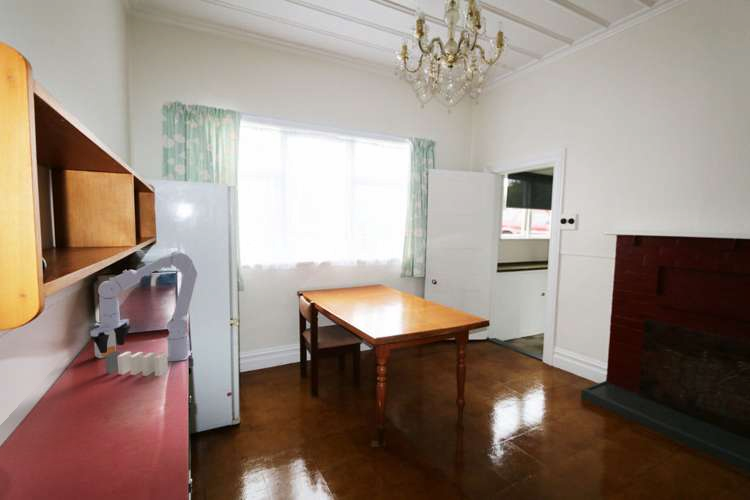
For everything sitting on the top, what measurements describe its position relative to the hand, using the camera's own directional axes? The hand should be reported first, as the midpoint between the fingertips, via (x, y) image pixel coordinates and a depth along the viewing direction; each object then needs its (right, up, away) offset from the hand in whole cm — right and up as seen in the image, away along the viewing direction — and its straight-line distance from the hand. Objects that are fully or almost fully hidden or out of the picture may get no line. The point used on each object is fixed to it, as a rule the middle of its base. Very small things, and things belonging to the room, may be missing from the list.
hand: (112, 348), depth 127 cm
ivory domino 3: (+14, -9, 0) cm, 17 cm away
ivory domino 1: (+5, -9, 0) cm, 10 cm away
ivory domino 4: (+19, -9, -1) cm, 21 cm away
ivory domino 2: (+10, -9, 0) cm, 13 cm away
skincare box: (-15, -8, +15) cm, 23 cm away
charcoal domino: (0, -9, +1) cm, 9 cm away
